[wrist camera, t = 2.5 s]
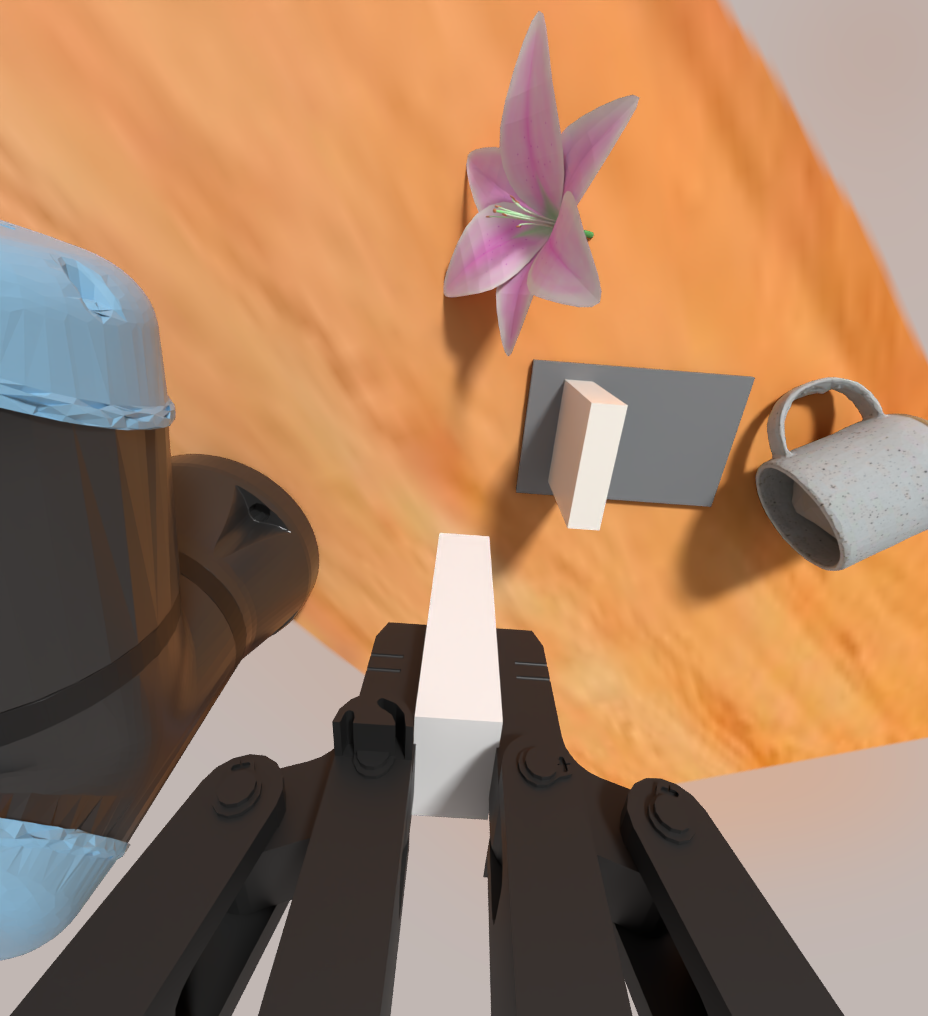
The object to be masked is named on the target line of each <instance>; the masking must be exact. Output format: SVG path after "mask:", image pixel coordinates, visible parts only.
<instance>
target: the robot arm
mask: <svg viewBox="0 0 928 1016" xmlns="http://www.w3.org/2000/svg"><path fill="white" fill-rule="evenodd" d="M174 420H175V405H174V404H173V402H172V401H171V399H170V397H169V396H168V395H167V387H166V380H165V372H164V365H163V357H162V350H161V342H160V335H159V327H158V322H157V318H156V314H155V311H154V309H153V307H152V304H151V302H150V301H149V299H148V297H147V296H146V294H145V293H144V291H143V290H142V289H141V288H140V287H139V286H138V284H137V283H136V282H135V281H134V280H133V279H132V278H131V277H130V276H129V275H127V274H126V273H125V272H124V271H123V270H121V269H120V268H119V267H117V266H116V265H114V264H113V263H111V262H110V261H108V260H106V259H104V258H102V257H100V256H99V255H96V254H94V253H92V252H90V251H87V250H85V249H82V248H80V247H77V246H74V245H71V244H69V243H66V242H63V241H61V240H58V239H55V238H52V237H50V236H47V235H44V234H41V233H38V232H35V231H32V230H29V229H26V228H23V227H20V226H18V225H15V224H12V223H9V222H6V221H2V220H0V960H5V959H10V958H13V957H17V956H20V955H24V954H26V953H28V952H31V951H33V950H35V949H37V948H39V947H40V946H42V945H43V944H45V943H47V942H48V941H50V940H51V939H53V938H54V937H56V936H57V935H58V934H59V933H61V932H62V931H63V930H64V929H65V928H66V927H67V926H68V925H69V924H70V923H71V922H72V920H73V919H74V918H75V917H76V916H77V914H78V913H79V912H80V910H81V909H82V907H83V906H84V905H85V903H86V902H87V901H88V899H89V898H90V896H91V895H92V894H93V892H94V891H95V889H96V888H97V886H98V885H99V884H100V883H101V881H102V880H103V878H104V877H105V876H106V874H107V873H108V871H109V870H110V868H111V867H112V866H113V864H114V863H115V862H116V860H117V859H119V858H121V857H123V855H124V854H125V852H126V851H127V849H128V848H129V846H130V844H129V843H128V842H129V840H130V838H131V837H132V835H133V834H134V832H135V830H136V829H137V827H138V826H139V824H140V822H141V821H142V819H143V817H144V816H145V814H146V813H147V811H148V809H149V808H150V806H151V805H152V803H153V801H154V800H155V798H156V796H157V795H158V793H159V792H160V790H161V788H162V787H163V785H164V783H165V782H166V780H167V779H168V777H169V775H170V774H171V772H172V771H173V769H174V768H175V766H176V764H177V763H178V761H179V759H180V758H181V756H182V755H183V753H184V751H185V750H186V748H187V746H188V745H189V743H190V742H191V740H192V738H193V737H194V735H195V734H196V732H197V730H198V729H199V727H200V726H201V724H202V722H203V721H204V719H205V717H206V716H207V714H208V713H209V711H210V709H211V707H212V706H213V705H214V703H215V701H216V700H217V698H218V696H219V695H220V693H221V692H222V690H223V689H224V687H225V685H226V684H227V682H228V681H229V679H230V677H231V676H232V674H233V672H234V671H235V669H236V667H237V666H238V664H239V663H240V661H241V660H242V659H243V658H244V657H245V656H247V654H249V653H250V652H251V651H253V650H254V649H255V648H256V647H258V646H259V645H260V644H261V643H262V642H264V641H265V640H266V639H267V638H269V637H270V636H272V635H274V634H276V633H277V632H278V631H280V630H281V629H283V628H284V627H285V626H287V625H288V624H289V623H290V622H291V621H292V620H293V619H294V618H295V617H296V615H297V614H298V613H299V612H300V610H301V609H302V607H303V605H304V604H305V602H306V600H307V598H308V596H309V595H310V593H311V591H312V589H313V587H314V585H315V582H316V579H317V575H318V569H319V553H318V546H317V542H316V538H315V535H314V532H313V530H312V528H311V525H310V523H309V521H308V520H307V518H306V516H305V515H304V513H303V511H302V510H301V509H300V507H299V506H298V505H297V503H296V502H295V501H294V500H293V499H292V498H291V497H290V496H289V495H288V494H287V493H286V492H285V491H284V490H283V489H282V488H281V487H280V486H279V485H277V484H276V483H275V482H274V481H272V480H271V479H269V478H268V477H266V476H265V475H263V474H261V473H260V472H258V471H256V470H254V469H252V468H250V467H248V466H246V465H244V464H241V463H239V462H236V461H233V460H230V459H226V458H222V457H217V456H212V455H203V454H186V455H178V456H172V457H171V453H170V440H169V426H170V425H171V423H172V422H173V421H174ZM549 679H550V677H549V672H548V667H547V663H546V658H545V653H544V648H543V645H542V644H541V643H540V641H539V640H538V639H537V637H536V636H535V635H534V633H533V632H532V631H526V630H512V629H497V628H496V622H495V608H494V594H493V581H492V567H491V553H490V540H489V536H476V535H462V534H448V533H440V534H439V541H438V549H437V556H436V563H435V571H434V578H433V585H432V593H431V600H430V607H429V615H428V622H427V625H419V624H405V623H390V622H389V623H388V624H387V625H386V626H385V627H384V628H383V629H382V630H381V631H380V633H379V634H378V635H377V636H376V639H375V642H374V646H373V649H372V653H371V656H370V660H369V663H368V667H367V671H366V674H365V678H364V682H363V685H362V688H361V692H360V696H358V697H356V698H353V699H351V700H350V701H349V702H347V703H346V704H345V705H344V706H343V707H341V708H340V709H339V711H338V713H337V714H336V716H335V718H334V720H333V736H334V749H333V750H332V751H330V752H328V753H327V754H325V755H323V756H322V757H320V758H317V759H314V760H311V761H308V762H304V763H300V764H296V765H292V766H288V767H284V768H279V766H278V764H277V763H276V762H275V761H273V760H271V759H269V758H268V757H266V756H262V755H252V754H249V755H245V756H241V757H237V758H233V759H231V760H229V761H228V762H226V763H224V764H222V765H220V766H218V767H217V768H216V769H214V770H213V771H212V772H211V773H210V774H209V775H208V776H207V777H206V778H205V779H204V780H203V781H202V782H201V783H200V784H199V785H198V787H197V788H196V789H195V791H194V792H193V793H192V794H191V795H190V796H189V798H188V799H187V800H186V802H185V803H184V804H183V805H182V806H181V807H180V809H179V810H178V811H177V812H176V814H175V815H174V816H173V817H172V818H171V820H170V821H169V822H168V823H167V825H166V826H165V827H164V828H163V829H162V831H161V832H160V833H159V834H158V836H157V837H156V838H155V839H154V841H153V842H152V843H151V844H150V845H149V847H148V848H147V849H146V850H145V851H144V853H143V854H142V855H141V856H140V858H139V859H138V860H137V861H136V862H135V864H134V865H133V866H132V867H131V868H130V870H129V871H128V872H127V873H126V875H125V876H124V877H123V878H122V879H121V881H120V882H119V883H118V884H117V886H116V887H115V888H114V889H113V891H112V892H111V893H110V894H109V895H108V897H107V898H106V899H105V900H104V901H103V903H102V904H101V905H100V906H99V908H98V909H97V910H96V911H95V912H94V914H93V915H92V916H91V917H90V918H89V920H88V921H87V922H86V923H85V925H84V926H83V927H82V928H81V929H80V931H79V932H78V933H77V934H76V936H75V937H74V938H73V939H72V940H71V942H70V943H69V944H68V945H67V947H66V948H65V949H64V950H63V952H62V953H61V954H60V955H59V957H57V959H56V960H55V961H54V962H53V964H52V965H51V966H50V967H49V969H48V970H47V971H46V972H45V973H44V975H43V976H42V977H41V978H40V980H39V981H38V982H37V983H36V984H35V986H34V987H33V988H32V989H31V991H30V992H29V993H28V994H27V995H26V997H25V998H24V999H23V1000H22V1001H21V1003H20V1004H19V1005H18V1007H17V1008H16V1009H15V1010H14V1011H13V1013H12V1014H11V1015H10V1016H232V1013H233V1012H234V1009H235V1008H236V1005H237V1004H238V1001H239V1000H240V998H241V995H242V994H243V992H244V990H245V988H246V986H247V984H248V982H249V980H250V978H251V976H252V974H253V972H254V970H255V968H256V966H257V964H258V962H259V960H260V958H261V956H262V954H263V952H264V950H265V948H266V946H267V944H268V942H269V941H270V939H271V937H272V935H273V933H274V931H275V929H276V927H277V925H278V923H279V921H280V919H281V917H282V915H283V913H284V911H285V909H286V907H287V905H288V903H289V901H290V900H292V902H291V906H290V909H289V912H288V916H287V919H286V923H285V926H284V929H283V933H282V936H281V940H280V943H279V946H278V950H277V953H276V957H275V960H274V963H273V967H272V970H271V973H270V977H269V980H268V983H267V987H266V990H265V994H264V997H263V1000H262V1004H261V1007H260V1011H259V1014H258V1016H390V1014H391V1005H392V996H393V987H394V978H395V969H396V960H397V951H398V942H399V934H400V925H401V924H400V923H401V916H402V906H403V897H404V887H405V880H406V871H407V861H408V852H409V833H410V824H411V816H412V815H419V816H435V817H451V818H467V819H484V820H487V819H488V814H489V821H490V839H489V845H488V851H487V857H486V863H485V870H484V877H488V902H489V903H488V906H489V946H490V985H491V986H490V987H491V1016H632V1012H631V1007H630V1003H629V998H628V994H627V989H626V985H625V982H626V984H627V987H628V989H629V992H630V995H631V997H632V1000H633V1002H634V1005H635V1007H636V1009H637V1012H638V1015H639V1016H844V1014H843V1013H842V1012H841V1010H840V1009H839V1007H838V1006H837V1004H836V1003H835V1001H834V1000H833V999H832V997H831V995H830V994H829V992H828V991H827V989H826V988H825V986H824V985H823V983H822V982H821V980H820V979H819V977H818V976H817V975H816V973H815V972H814V970H813V969H812V967H811V966H810V964H809V963H808V961H807V960H806V958H805V957H804V955H803V954H802V952H801V951H800V950H799V948H798V946H797V945H796V943H795V942H794V941H793V939H792V938H791V936H790V935H789V933H788V932H787V930H786V929H785V927H784V926H783V924H782V923H781V921H780V920H779V918H778V917H777V916H776V914H775V912H774V911H773V910H772V908H771V907H770V905H769V904H768V902H767V901H766V899H765V898H764V896H763V895H762V893H761V892H760V890H759V889H758V888H757V886H756V885H755V883H754V881H753V880H752V878H751V877H750V875H749V874H748V873H747V871H746V870H745V868H744V867H743V865H742V864H741V862H740V861H739V859H738V858H737V856H736V855H735V853H734V852H733V850H732V849H731V847H730V846H729V844H728V843H727V841H726V840H725V839H724V837H723V836H722V834H721V833H720V831H719V830H718V828H717V827H716V825H715V824H714V822H713V821H712V819H711V818H710V817H709V815H708V813H707V812H706V810H705V809H704V808H703V807H702V806H701V805H700V804H699V802H698V801H697V800H696V799H695V798H694V797H693V796H692V795H691V794H689V793H688V792H687V791H685V790H684V789H682V788H681V787H680V786H678V785H677V784H674V783H671V782H669V781H666V780H663V779H657V778H646V779H643V780H641V781H639V782H637V783H635V784H634V785H633V787H632V789H631V790H630V789H628V788H625V787H622V786H620V785H617V784H615V783H612V782H609V781H607V780H604V779H602V778H599V777H597V776H595V775H593V774H591V773H589V772H588V771H587V770H585V769H584V768H583V767H581V766H580V765H579V764H578V763H577V762H576V761H575V760H574V759H573V757H572V756H571V755H570V754H569V752H568V750H567V749H566V747H565V745H564V742H563V739H562V736H561V731H560V726H559V721H558V716H557V711H556V707H555V702H554V697H553V692H552V687H551V682H550V680H549ZM624 979H625V980H624Z"/></svg>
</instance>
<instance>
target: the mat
mask: <svg viewBox="0 0 928 1016" xmlns="http://www.w3.org/2000/svg"><path fill="white" fill-rule="evenodd" d="M565 379H567V380H580V381H592V382H594V383H596V384H597V385H599V386H600V387H602V388H603V389H604V390H606V391H607V392H609V393H610V394H612V395H613V396H615V397H616V398H618V399H619V400H620V401H622V402H623V403H625V404H626V405H628V407H627V411H626V416H625V420H624V425H623V429H622V433H621V438H620V442H619V446H618V451H617V455H616V460H615V464H614V468H613V473H612V477H611V481H610V486H609V490H608V495H607V499H612V500H626V501H640V502H653V503H667V504H681V505H694V506H708V507H711V506H712V503H713V500H714V497H715V494H716V491H717V488H718V485H719V482H720V479H721V476H722V473H723V470H724V467H725V464H726V461H727V458H728V456H729V453H730V450H731V447H732V444H733V441H734V438H735V435H736V432H737V429H738V426H739V423H740V420H741V417H742V414H743V411H744V408H745V405H746V403H747V400H748V397H749V394H750V391H751V388H752V385H753V382H754V379H755V378H754V377H749V376H736V375H723V374H711V373H698V372H685V371H673V370H660V369H647V368H634V367H622V366H609V365H596V364H584V363H571V362H558V361H546V360H533V366H532V373H531V381H530V388H529V396H528V403H527V411H526V418H525V426H524V433H523V441H522V448H521V456H520V463H519V471H518V478H517V486H516V493H530V494H544V495H553V492H552V490H551V488H550V485H549V483H548V478H549V472H550V466H551V460H552V454H553V448H554V442H555V436H556V430H557V424H558V418H559V412H560V406H561V399H562V393H563V387H564V381H565Z"/></svg>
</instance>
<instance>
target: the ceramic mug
mask: <svg viewBox="0 0 928 1016" xmlns="http://www.w3.org/2000/svg"><path fill="white" fill-rule="evenodd" d="M831 389H833V390H836V391H838V392H840V393H843V394H844V395H845V396H847V398H848V399H849V400H851V401H852V402H853V403H854V405H855V406H856V407H857V409H858V410H859V412H860V414H861V415H862V418H863V420H862V421H860V422H858V423H855V424H853V425H850V426H849V427H845V428H844V429H842V430H840V431H838V432H836V433H834V434H832V435H829V436H827V437H824V438H821V439H819V440H816V441H814V442H812V443H809V444H806V445H804V446H802V447H799V448H796V449H793V450H791V451H790V452H789V450H788V449H787V446H786V438H785V431H784V421H785V418H786V415H787V412H788V410H789V409H790V407H791V404H792V402H793V401H794V400H796V399H798V398H801V397H804V396H807V395H810V394H815V393H819V394H823V393H825V392H827V391H829V390H831ZM767 433H768V440H769V445H770V449H771V452H772V459H771V460H769V461H767V462H765V463H763V464H762V465H761V466H760V467H759V468H758V470H757V473H756V486H757V492H758V495H759V498H760V501H761V503H762V506H763V508H764V510H765V512H766V514H767V516H768V517H769V519H770V520H771V522H772V524H773V525H774V527H775V528H776V529H777V531H778V532H779V534H780V535H781V536H782V538H783V539H784V540H785V541H786V542H787V543H788V544H789V545H790V546H791V547H792V548H793V549H794V550H795V551H797V552H798V553H799V554H800V555H801V556H803V557H804V558H805V559H806V560H808V561H809V562H811V563H813V564H814V565H816V566H818V567H820V568H822V569H825V570H830V571H837V570H842V569H845V568H847V567H849V566H851V565H853V564H855V563H857V562H859V561H861V560H863V559H865V558H867V557H869V556H872V555H874V554H876V553H878V552H880V551H882V550H885V549H887V548H889V547H891V546H893V545H895V544H897V543H899V542H901V541H903V540H905V539H907V538H909V537H912V536H914V535H916V534H918V533H921V532H923V531H925V530H927V529H928V421H927V420H925V419H922V418H919V417H916V416H912V415H907V414H887V415H885V414H884V413H883V412H882V407H881V406H880V404H879V402H878V400H877V399H876V398H875V397H874V395H873V394H872V393H871V392H870V391H869V390H868V389H866V388H865V387H864V386H863V385H861V384H859V383H858V382H855V381H852V380H848V379H843V378H836V377H828V378H822V379H818V380H814V381H811V382H808V383H806V384H803V385H800V386H798V387H795V388H793V389H792V390H790V391H788V392H787V393H785V394H784V395H783V396H782V397H781V398H780V399H779V400H778V401H777V402H776V403H775V405H774V407H773V409H772V411H771V413H770V415H769V418H768V423H767Z"/></svg>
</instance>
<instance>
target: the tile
mask: <svg viewBox="0 0 928 1016" xmlns="http://www.w3.org/2000/svg"><path fill="white" fill-rule="evenodd" d="M627 407H628V405H626V404H625V403H623V402H622V401H620V400H619V399H618V398H616V397H615V396H613V395H612V394H610V393H609V392H607V391H606V390H604V389H603V388H602V387H600V386H599V385H597V384H596V383H594V382H592V381H580V380H567V379H565V381H564V387H563V393H562V399H561V406H560V412H559V418H558V424H557V430H556V436H555V442H554V448H553V454H552V460H551V466H550V472H549V478H548V483H549V485H550V488H551V490H552V492H553V495H554V497H555V500H556V502H557V504H558V507H559V509H560V511H561V514H562V516H563V519H564V521H565V523H566V526H567V528H574V529H588V530H600V525H601V521H602V516H603V512H604V508H605V503H606V499H607V495H608V490H609V486H610V481H611V477H612V473H613V468H614V464H615V460H616V455H617V451H618V446H619V442H620V438H621V433H622V429H623V425H624V420H625V416H626V411H627Z"/></svg>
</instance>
